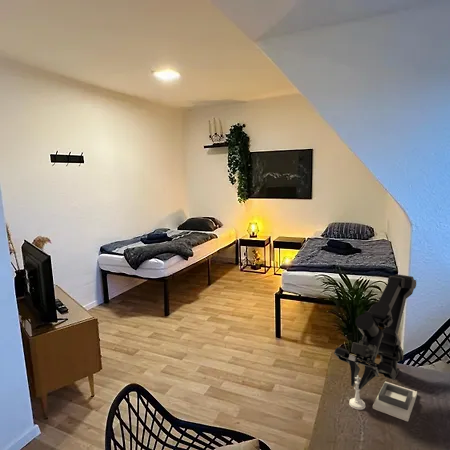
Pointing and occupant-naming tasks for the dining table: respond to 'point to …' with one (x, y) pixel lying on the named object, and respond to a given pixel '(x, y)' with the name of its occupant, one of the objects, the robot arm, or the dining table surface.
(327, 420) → the dining table surface
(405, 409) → the board
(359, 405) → the chess piece
